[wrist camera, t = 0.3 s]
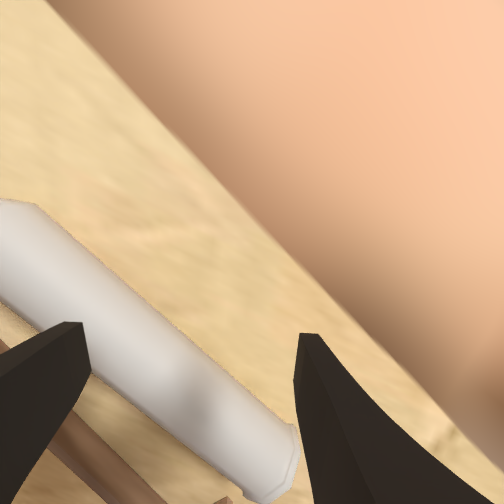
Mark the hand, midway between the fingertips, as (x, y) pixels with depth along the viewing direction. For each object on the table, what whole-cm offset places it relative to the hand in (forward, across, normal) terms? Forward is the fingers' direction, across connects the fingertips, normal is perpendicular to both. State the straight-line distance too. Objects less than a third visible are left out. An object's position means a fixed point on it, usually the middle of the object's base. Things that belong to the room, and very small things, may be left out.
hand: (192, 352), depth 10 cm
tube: (+10, +5, +7) cm, 13 cm away
